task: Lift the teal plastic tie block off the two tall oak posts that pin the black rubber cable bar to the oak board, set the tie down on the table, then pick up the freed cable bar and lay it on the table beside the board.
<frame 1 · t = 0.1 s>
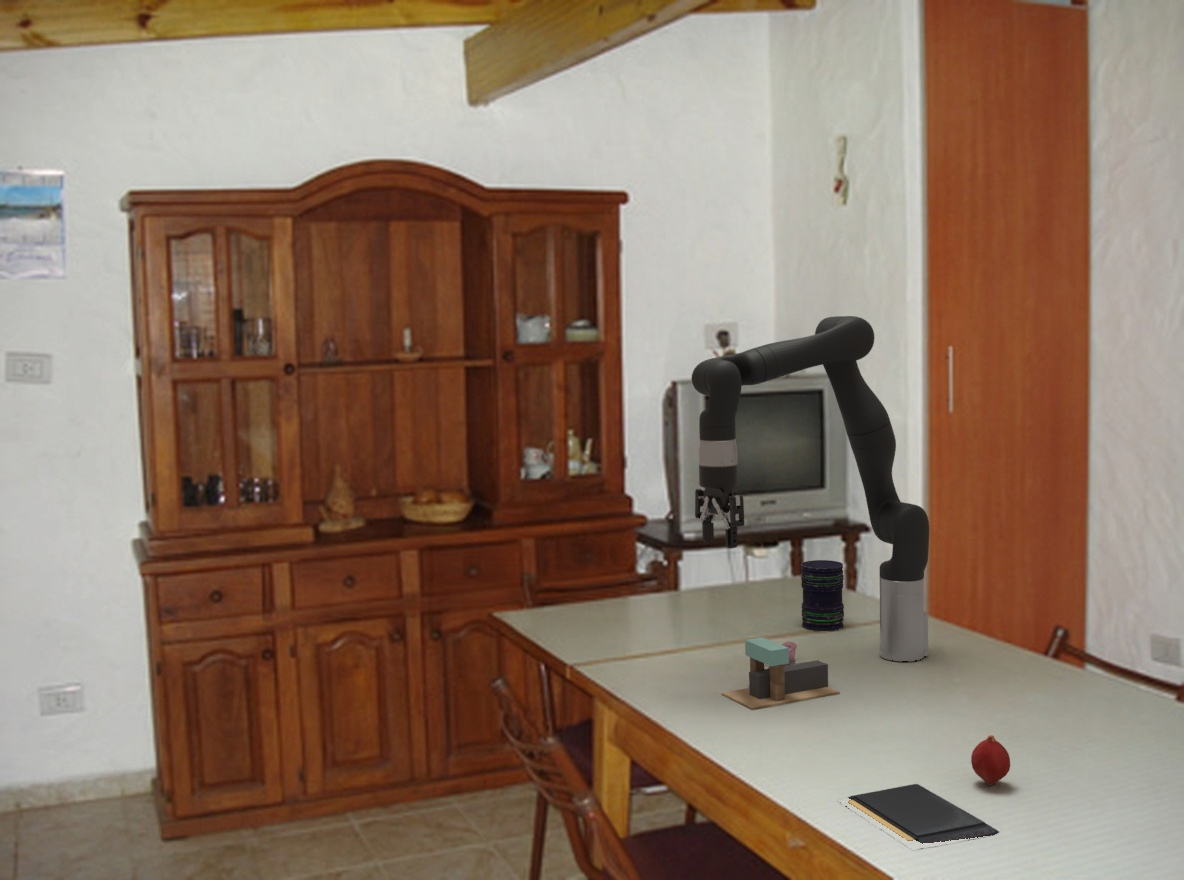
hand: (719, 544, 242), 29 cm above the table, tool pointing down, fingers open, 8 cm apart
cable bar: (789, 690, 242), resting on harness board
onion: (990, 785, 192), on the table
tie block: (766, 659, 239), point 7 cm above the table, touching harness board
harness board: (780, 694, 241), on the table
video game controller: (782, 670, 258), on the table
black book: (915, 821, 181), on the table
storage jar: (822, 627, 292), on the table
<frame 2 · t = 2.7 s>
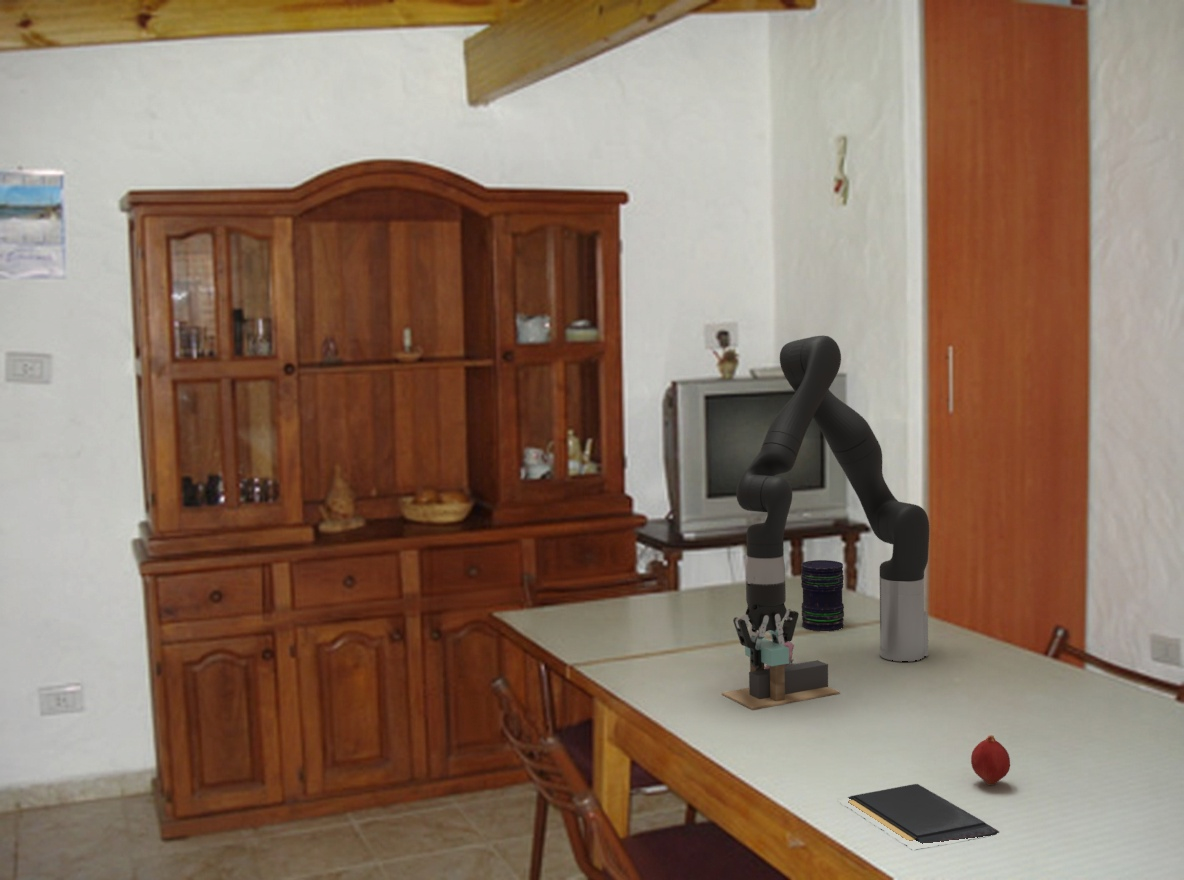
hand: (766, 665, 239), 6 cm above the table, tool pointing down, fingers closed on tie block, 4 cm apart
tie block: (766, 659, 239), point 7 cm above the table, touching gripper, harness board
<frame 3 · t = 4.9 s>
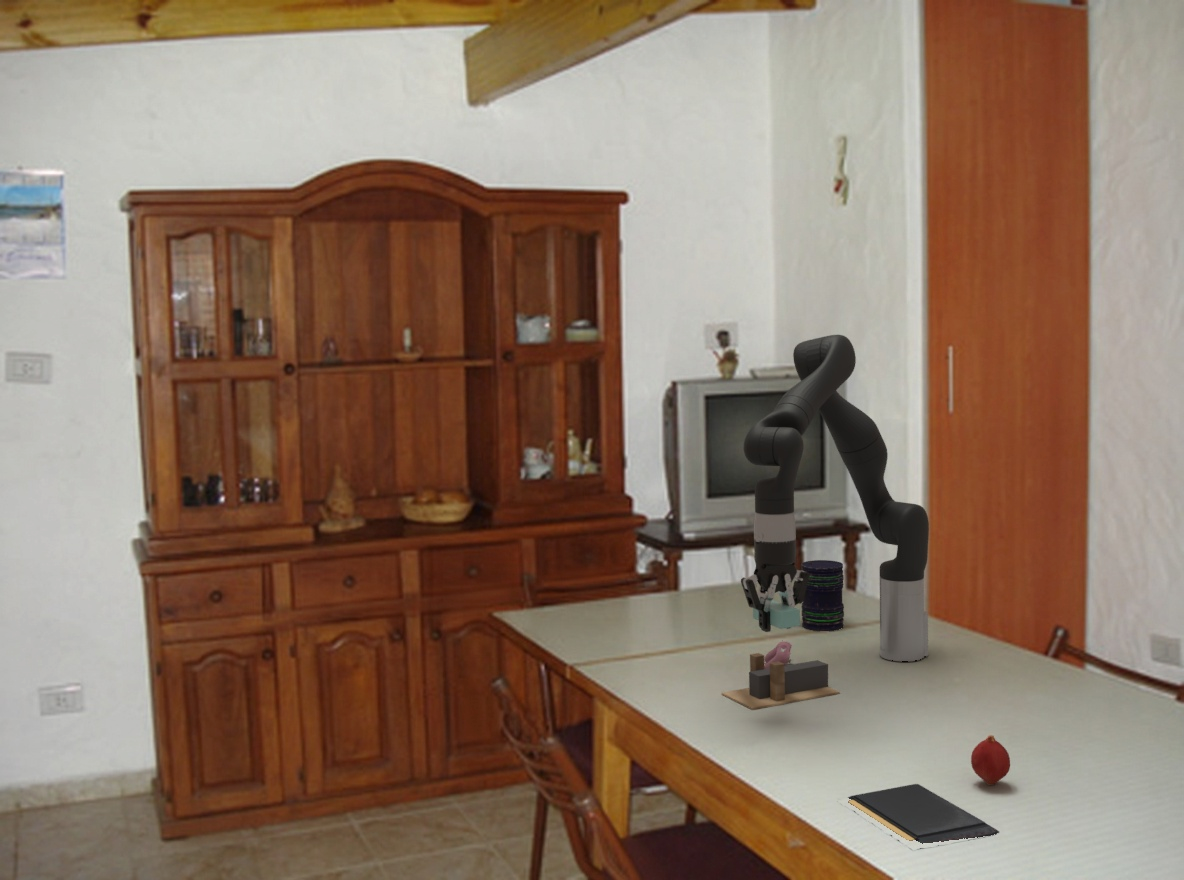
hand: (776, 628, 226), 16 cm above the table, tool pointing down, fingers closed on tie block, 4 cm apart
tie block: (776, 622, 226), point 18 cm above the table, touching gripper
when the fingers open (1 cm above the table, at t = 7.4 s): tie block drops 3 cm, on the table.
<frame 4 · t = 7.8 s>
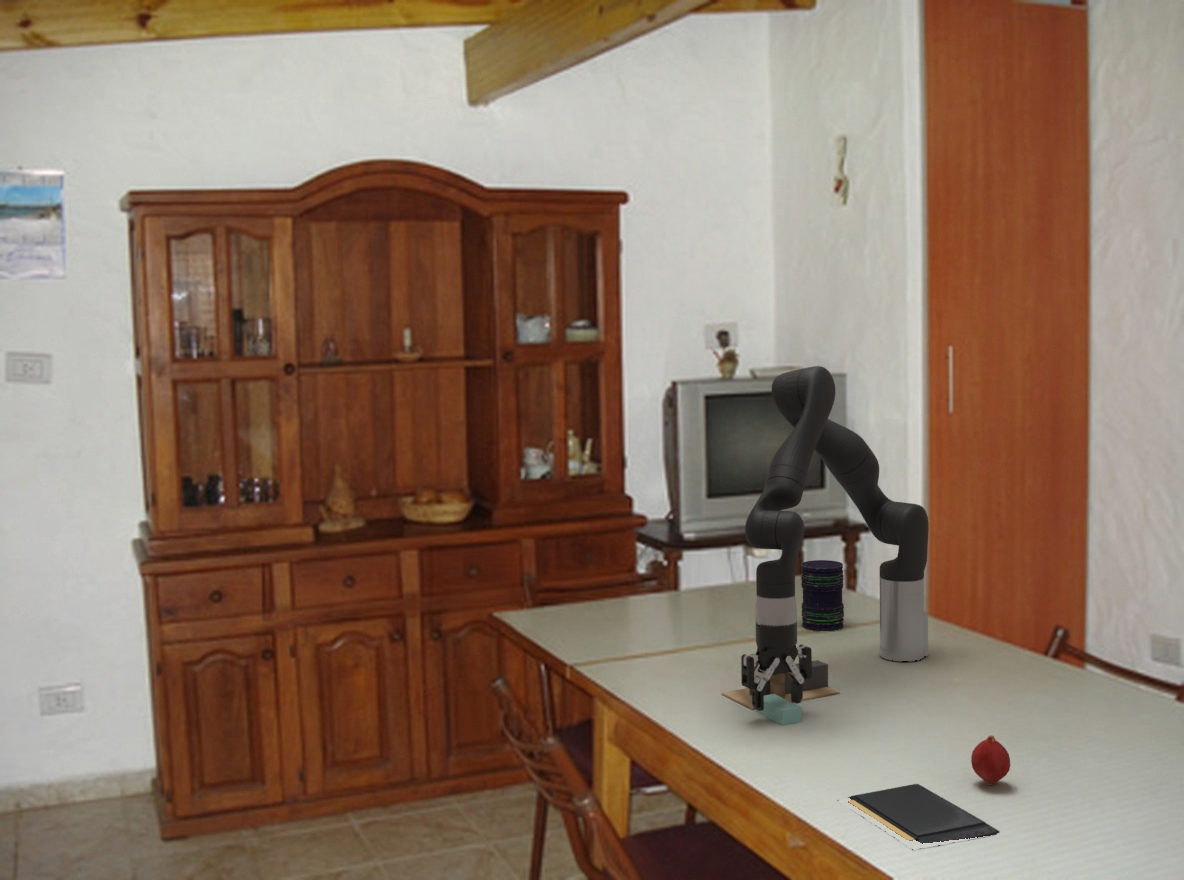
hand: (777, 706, 227), 2 cm above the table, tool pointing down, fingers open, 7 cm apart
tie block: (778, 717, 228), on the table
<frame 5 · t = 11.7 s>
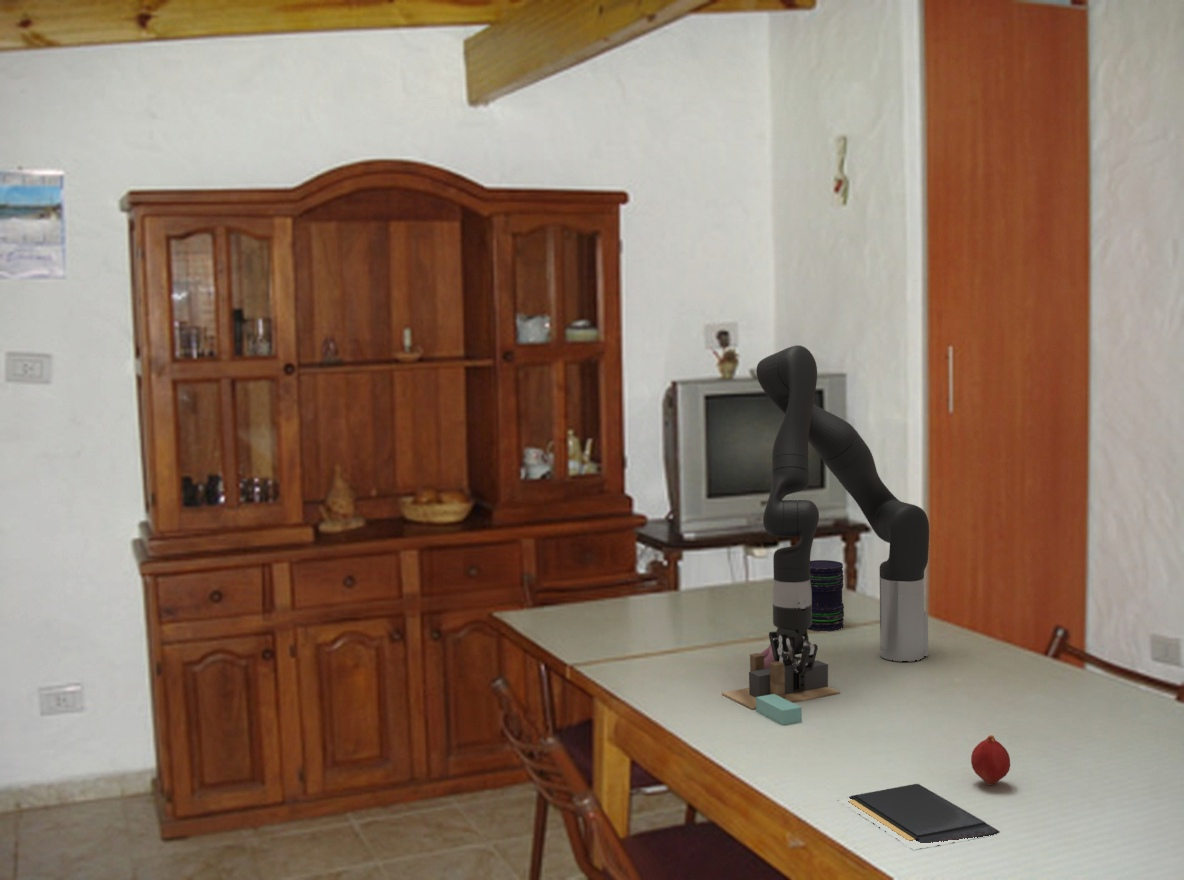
hand: (793, 687, 242), 1 cm above the table, tool pointing down, fingers closed on cable bar, 3 cm apart
cable bar: (789, 690, 242), resting on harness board, touching gripper
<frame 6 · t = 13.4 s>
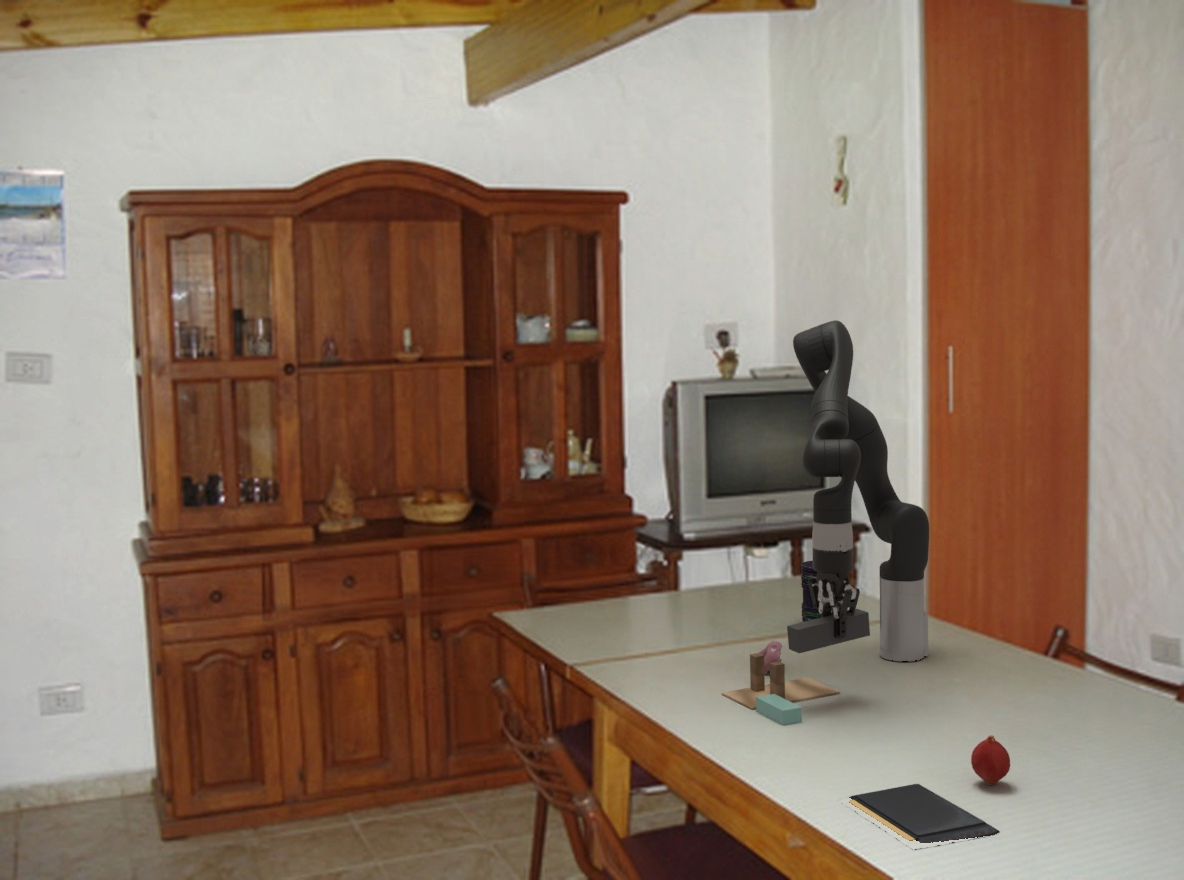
hand: (833, 634, 233), 13 cm above the table, tool pointing down, fingers closed on cable bar, 3 cm apart
cable bar: (829, 642, 233), point 12 cm above the table, touching gripper
when the fingers open (2 cm above the table, at t = 15.5 s): cable bar stays where it is, on the table.
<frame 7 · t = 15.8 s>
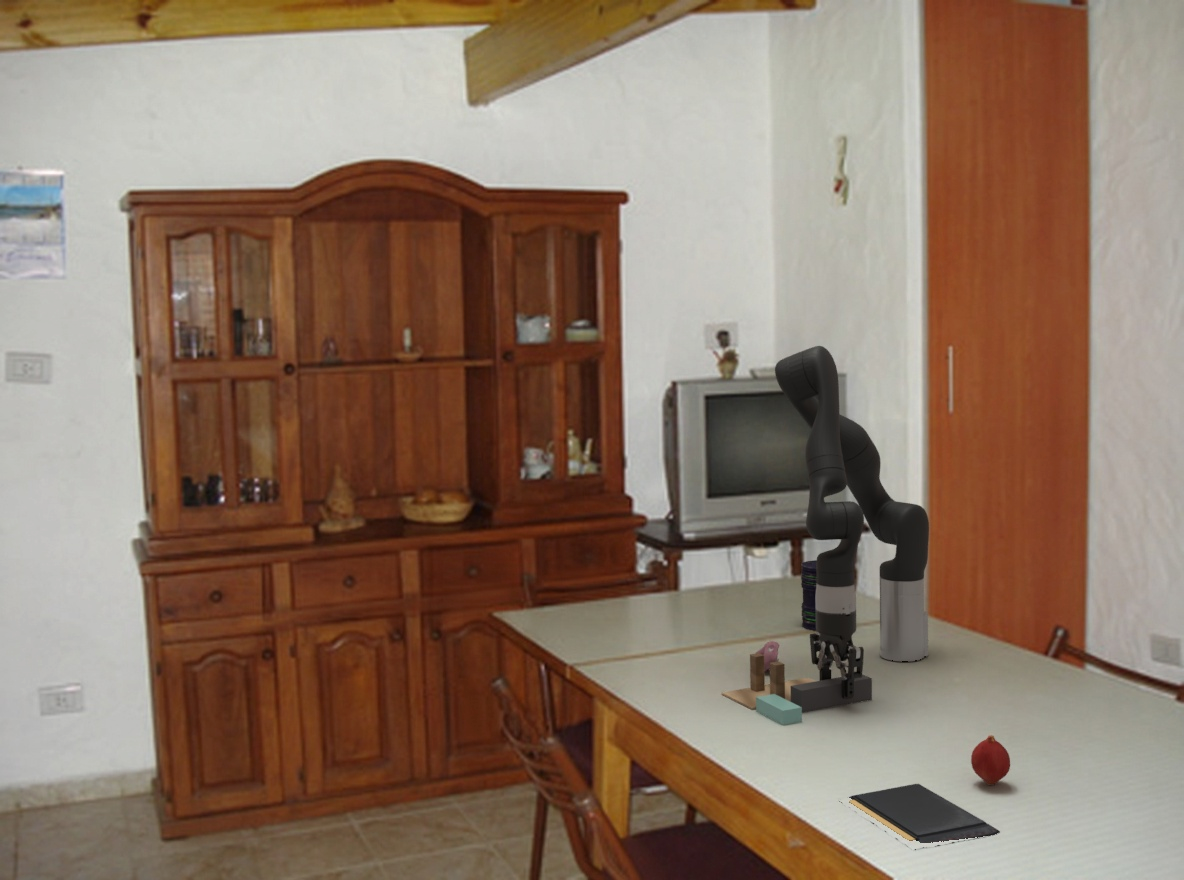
hand: (836, 693, 234), 2 cm above the table, tool pointing down, fingers open, 6 cm apart
cable bar: (831, 705, 234), on the table
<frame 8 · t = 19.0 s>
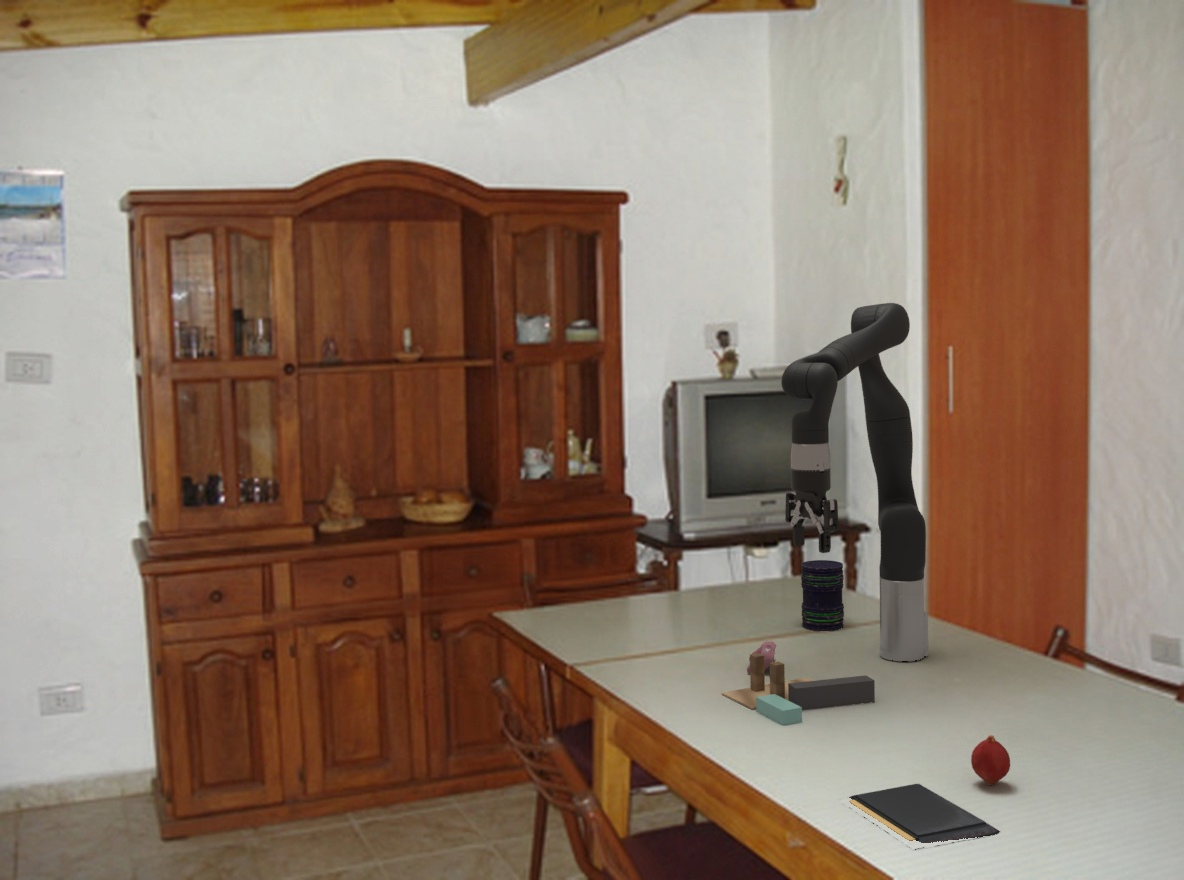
hand: (811, 548, 240), 28 cm above the table, tool pointing down, fingers open, 8 cm apart
at the end: cable bar inside the target area (1.2 cm from its centre), on the table; tie block on the table; the gripper is holding nothing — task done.
